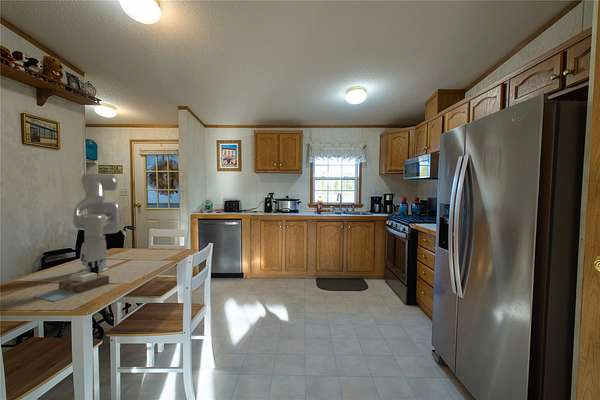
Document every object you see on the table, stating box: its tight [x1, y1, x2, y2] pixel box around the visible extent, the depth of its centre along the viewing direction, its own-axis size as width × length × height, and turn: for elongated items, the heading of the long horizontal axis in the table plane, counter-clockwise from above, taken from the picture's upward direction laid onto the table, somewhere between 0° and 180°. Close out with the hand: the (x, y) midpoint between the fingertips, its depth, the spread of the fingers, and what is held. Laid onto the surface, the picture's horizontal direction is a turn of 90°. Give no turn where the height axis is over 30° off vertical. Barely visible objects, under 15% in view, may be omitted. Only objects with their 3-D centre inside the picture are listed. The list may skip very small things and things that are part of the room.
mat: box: [33, 288, 79, 303], centre depth 114 cm, size 15×9×1 cm, turn 71°
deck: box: [58, 273, 110, 295], centre depth 125 cm, size 14×14×4 cm
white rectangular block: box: [70, 271, 97, 282], centre depth 124 cm, size 9×6×2 cm, turn 71°
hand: (94, 274), depth 129 cm, fingers closed
